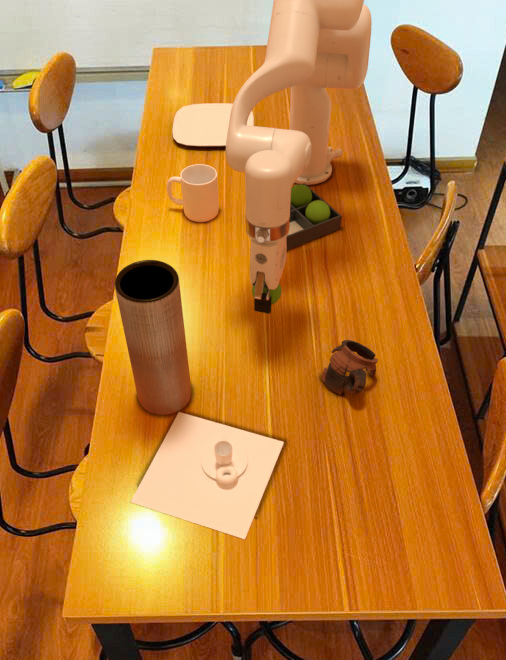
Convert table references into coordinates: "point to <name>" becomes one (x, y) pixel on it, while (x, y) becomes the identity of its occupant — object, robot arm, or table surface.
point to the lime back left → (300, 195)
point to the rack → (310, 224)
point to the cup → (197, 192)
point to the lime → (271, 293)
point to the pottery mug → (349, 368)
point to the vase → (155, 334)
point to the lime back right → (317, 212)
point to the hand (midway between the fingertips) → (266, 299)
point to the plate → (204, 124)
